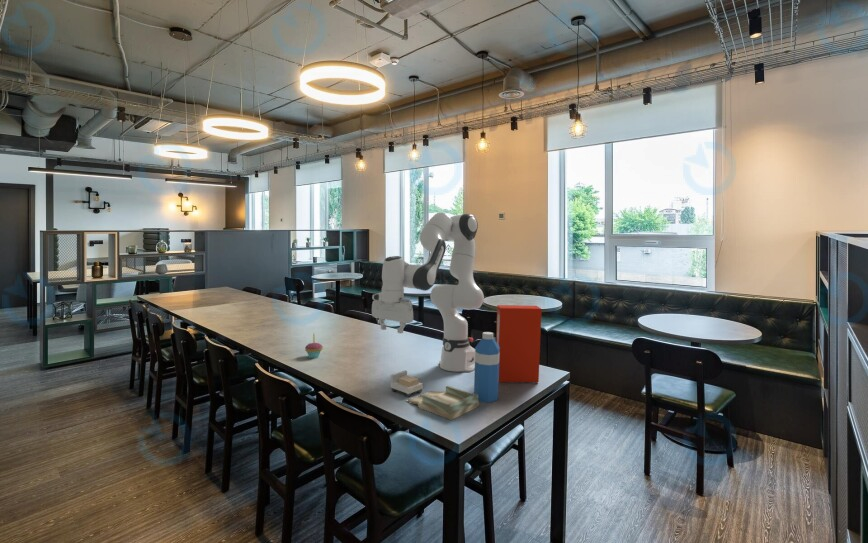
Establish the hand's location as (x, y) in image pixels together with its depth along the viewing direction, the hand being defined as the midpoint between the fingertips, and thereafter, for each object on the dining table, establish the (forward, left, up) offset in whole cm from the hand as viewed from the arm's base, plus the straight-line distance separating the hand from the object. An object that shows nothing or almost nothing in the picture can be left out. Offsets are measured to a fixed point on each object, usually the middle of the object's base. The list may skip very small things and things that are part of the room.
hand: (391, 331), depth 165 cm
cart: (-1, +8, -23) cm, 24 cm away
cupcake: (-2, -59, -23) cm, 63 cm away
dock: (-1, +26, -24) cm, 35 cm away
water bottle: (-18, +34, -23) cm, 45 cm away
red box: (-44, +32, -23) cm, 59 cm away
